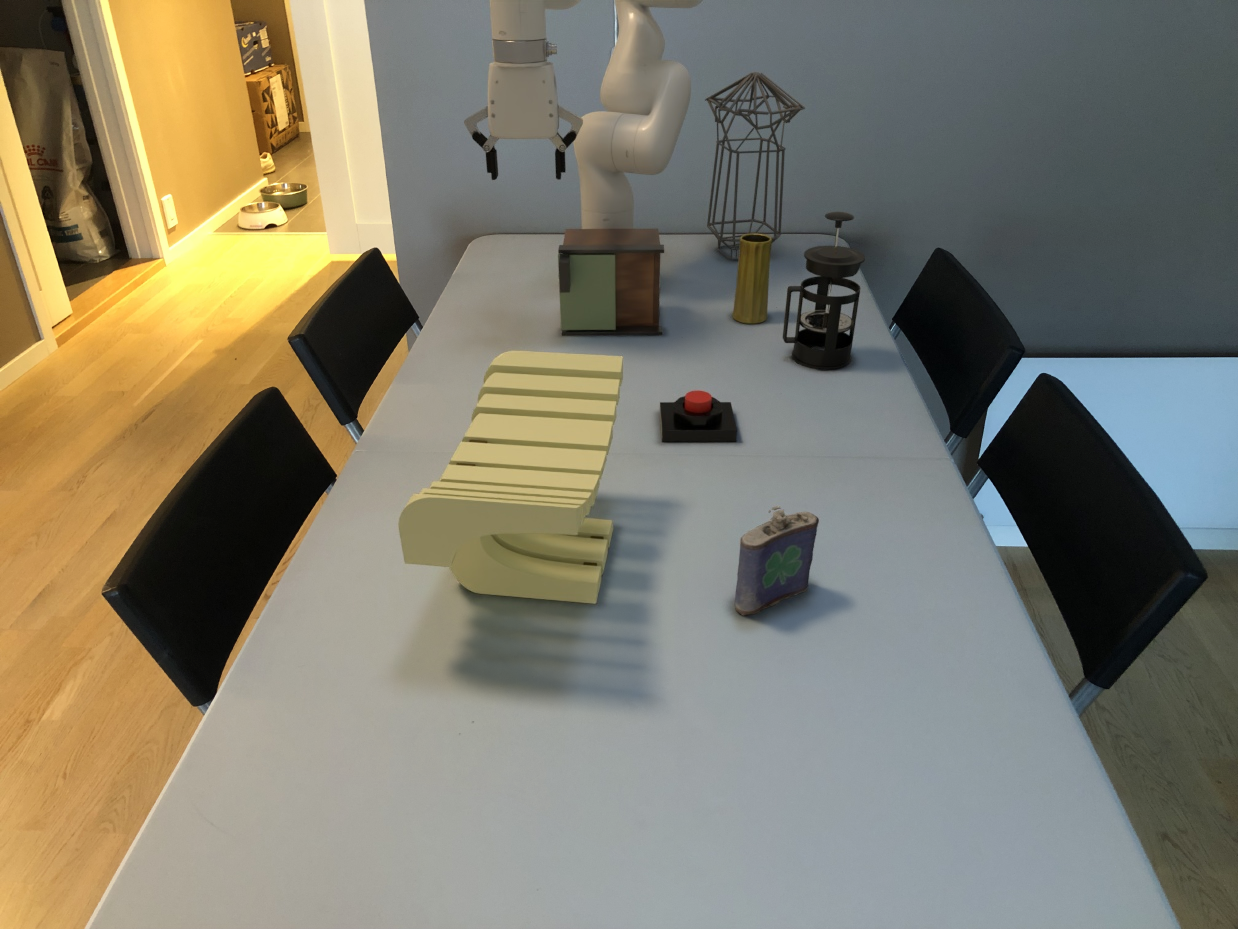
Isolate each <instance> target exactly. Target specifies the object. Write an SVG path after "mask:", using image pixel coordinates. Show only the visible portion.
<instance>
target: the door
mask: <svg viewBox="0 0 1238 929" xmlns="http://www.w3.org/2000/svg"><path fill="white" fill-rule="evenodd" d="M557 266H558V287H559V288H558V289H559V312H560V313H559V314H560V330H561V331H562V330H616V305H615V253H577V254H563V253H558V254H557Z"/></svg>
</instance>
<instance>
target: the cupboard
mask: <svg viewBox="0 0 1238 929" xmlns="http://www.w3.org/2000/svg"><path fill="white" fill-rule="evenodd" d="M563 236H564V237H563V241H562V244H559V245H558V249H557V250H558V251H557V252H558V254H577V253H615V305H616V330H561V336H663V326H662V325H660V298H661V297H660V293H661V292H660V290H661V254H665V245H664V244H661V240H660V231H659V228H633V229H582V228H565V231H564V235H563Z"/></svg>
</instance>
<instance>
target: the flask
mask: <svg viewBox="0 0 1238 929" xmlns="http://www.w3.org/2000/svg"><path fill="white" fill-rule="evenodd" d="M771 510H773V514H772V517H771V518H770V520H768V521H766V522H765V523H762V524H760V525H758V526H756V527H755V528H753V529H751V530H748V531H747V532H746V533H744V534H743V535H741V537H740V539H739V540H740V542H739V544H740V545H739V554H738V565H737V566H738V567H737V574H736V575H737V578H736V586H735V595H734V601H733V605H734V609H735V611H736V612H738V613H739V614H740V615H741V616H746V615H755V614H759V613H760V612H761V610H764V609H766V608H770V607H772V606H776V605H778V604H780V602H781V600H783V599H785V600H788V599H789V598H790V597H791V596H797V595H798V594H802V593H804V592H806V591H807V590H808V587H809V580H810V570H811V567H812V562H813V557H814V549H815V542H816V537H817V532H818V527H819V522H820V519H819V517H818V516H817V515H815V514H814V513H811V512H810V511H806V510H805V511H799V512H796V513H792V514H785V509H782V507H781V506H779V505H776V506H772V507H771ZM771 510H768V513H771V512H772V511H771Z"/></svg>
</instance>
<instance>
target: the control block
mask: <svg viewBox="0 0 1238 929" xmlns="http://www.w3.org/2000/svg"><path fill="white" fill-rule="evenodd" d="M659 423H660V436H661V443H737V440H738V439H737V437H738V427H737V423H736V419H735V414H734V410H733V405H732V402H731V401H720V400H718V398H716V397H714V396H712V402H711V410H710V411H708V412H704V413H694V412H690V411H687V410H686V409H685V395H684V396H680V397H678V398H677V399H676V400H675V401H661V402H659Z"/></svg>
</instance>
